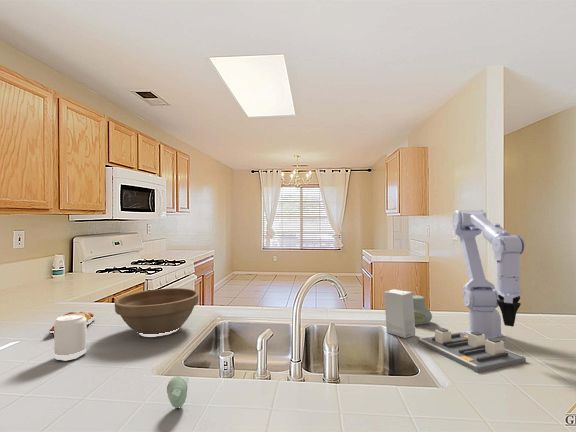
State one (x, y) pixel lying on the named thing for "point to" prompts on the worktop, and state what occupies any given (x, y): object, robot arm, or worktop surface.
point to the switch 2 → (494, 346)
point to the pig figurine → (177, 391)
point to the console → (471, 353)
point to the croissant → (87, 315)
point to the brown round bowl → (156, 309)
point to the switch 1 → (442, 335)
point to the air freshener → (421, 311)
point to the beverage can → (70, 334)
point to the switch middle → (476, 339)
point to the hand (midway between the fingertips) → (509, 322)
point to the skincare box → (399, 313)
